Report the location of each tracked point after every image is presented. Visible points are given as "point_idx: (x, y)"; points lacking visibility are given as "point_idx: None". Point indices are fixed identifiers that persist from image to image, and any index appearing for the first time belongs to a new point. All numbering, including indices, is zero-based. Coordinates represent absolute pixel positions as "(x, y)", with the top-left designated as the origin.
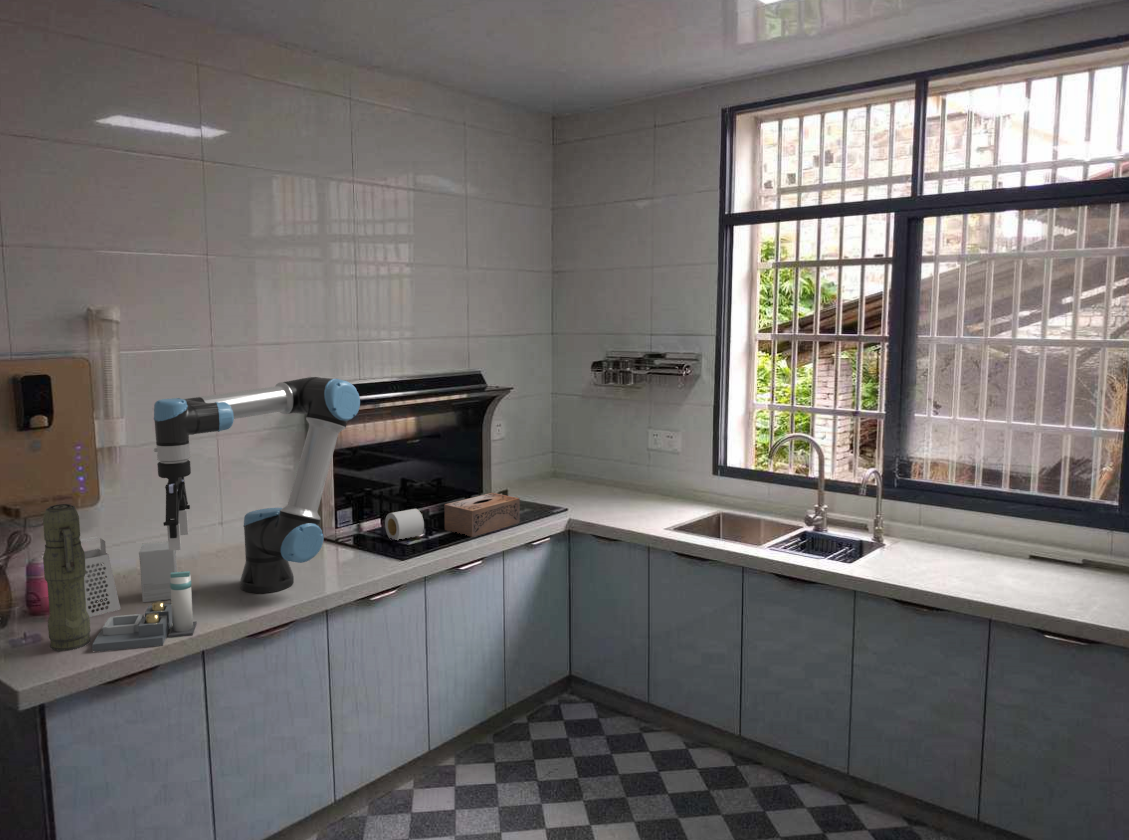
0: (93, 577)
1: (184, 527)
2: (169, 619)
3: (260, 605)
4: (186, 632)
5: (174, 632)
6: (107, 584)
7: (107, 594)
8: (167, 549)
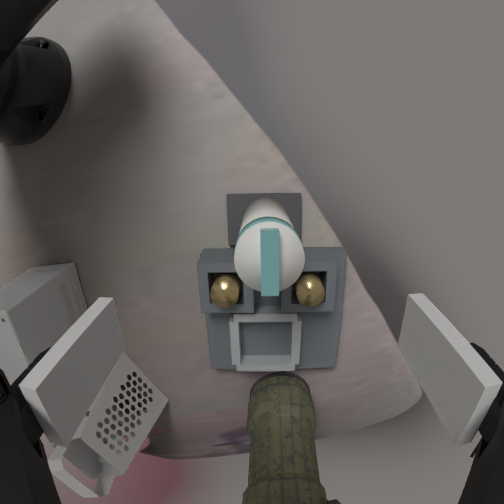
0: (122, 430)
1: (98, 335)
2: None
3: (140, 69)
4: (294, 207)
5: None
6: None
7: None
8: (11, 325)
